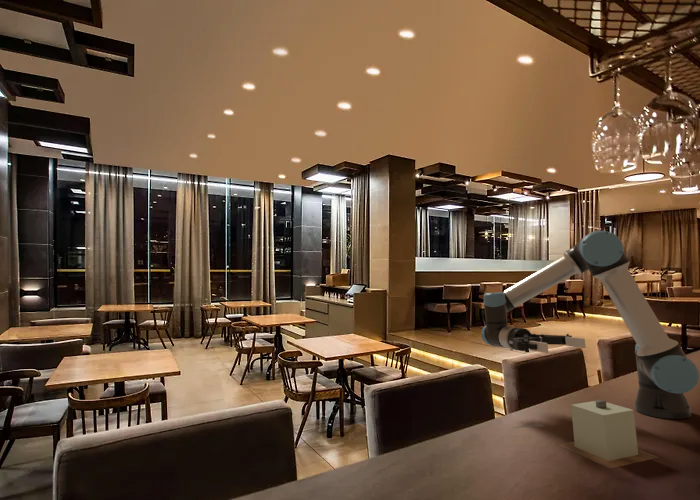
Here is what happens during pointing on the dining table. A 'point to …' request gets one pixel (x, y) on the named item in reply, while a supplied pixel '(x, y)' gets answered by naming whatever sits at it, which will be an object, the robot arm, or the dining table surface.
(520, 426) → the coaster
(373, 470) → the dining table surface
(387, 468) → the dining table surface
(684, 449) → the dining table surface
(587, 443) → the knobbed cream cube
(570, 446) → the board
